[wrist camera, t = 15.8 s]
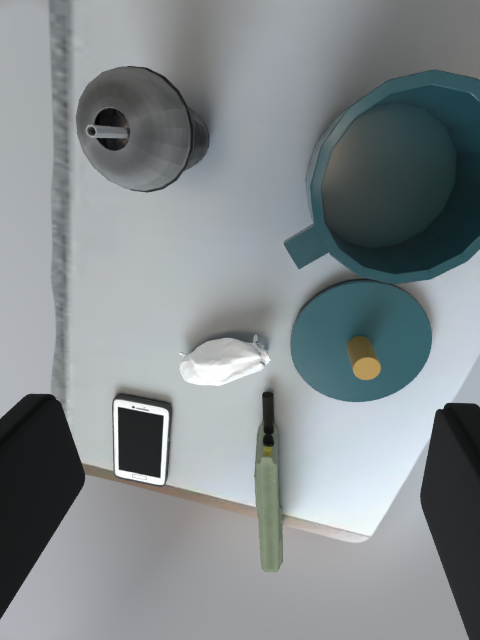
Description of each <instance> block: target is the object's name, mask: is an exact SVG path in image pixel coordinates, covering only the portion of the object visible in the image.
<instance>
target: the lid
mask: <svg viewBox="0 0 480 640" xmlns="http://www.w3.org/2000/svg"><path fill="white" fill-rule="evenodd" d="M431 343H432V332H431V327H430V323H429V320H428V318H427V315H426V314H425V312H424V310H423V309H422V307H421V306H420V305H419V304H418V303H417V301H416V300H415V299H414V298H413V297H411V296H410V295H409V294H408V293H406V292H405V291H403V290H402V289H400V288H398V287H395V286H393V285H390V284H387V283H384V282H379V281H371V280H359V281H351V282H346V283H342V284H339V285H336V286H333V287H331V288H329V289H327V290H325V291H323V292H322V293H320V294H319V295H317V296H316V297H315V298H313V299H312V300H311V301H310V302H309V303H308V304H307V305H306V306H305V307H304V309H303V310H302V311H301V313H300V314H299V316H298V318H297V320H296V322H295V324H294V327H293V330H292V335H291V355H292V359H293V362H294V365H295V367H296V369H297V371H298V373H299V374H300V376H301V377H302V378H303V379H304V381H305V382H307V383H308V384H309V385H310V386H311V387H312V388H314V389H315V390H316V391H318V392H320V393H321V394H323V395H326V396H328V397H331V398H334V399H337V400H342V401H349V402H365V401H372V400H377V399H381V398H383V397H386V396H389V395H391V394H393V393H395V392H397V391H399V390H401V389H402V388H404V387H405V386H406V385H408V384H409V383H410V382H411V381H412V380H413V379H414V378H415V377H416V376H417V375H418V374H419V372H420V371H421V370H422V368H423V367H424V365H425V363H426V361H427V359H428V356H429V353H430V349H431Z"/></svg>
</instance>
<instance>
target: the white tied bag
mask: <svg viewBox="0 0 480 640" xmlns="http://www.w3.org/2000/svg"><path fill="white" fill-rule="evenodd" d="M257 336H258V335H257V334H255V335H254V338H253V343H247V342H242V341H240V340H237V339H233V338H222V339H216V340H212V341H207V342H205V343H203V344H202V345H200V346H198V347H197V348H196V349H195V351H193V352H192V353H190V354H186V353H179V354H180V355H181V356H183V357H184V359H183V360H182V362H181V363H180V366H179V369H180V372H181V374H182V376H183V378H184V380H185V381H187V382H189V383H192V384H198V385H215V386H221V385H223V384H226V383H228V382H231V381H234V380H236V379H238V378H241V377H244V376H247V375H249V374H252V373H255V372H258V371H261V370H262V369H263V368H264V367H265V364H268V363H269V362H270V361H271V360H270V358H269V357H268V354H267V353H268V351H266V350H264V349H263V348H264V347H262V346H264V344H263V345H261V344H260V343H258V337H257Z"/></svg>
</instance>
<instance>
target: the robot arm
mask: <svg viewBox="0 0 480 640" xmlns="http://www.w3.org/2000/svg"><path fill="white" fill-rule="evenodd" d="M84 482H85V472H84V469H83V466H82V463H81V461H80V458H79V455H78V452H77V449H76V446H75V443H74V440H73V437H72V434H71V431H70V428H69V425H68V423H67V420H66V417H65V414H64V411H63V408H62V405H61V403H60V402H59V401H58V400H56V398H55V397H54V396H53V395H51V394H28V395H26V396H25V397H23V398H22V399H21V400H20V401H19V402H18V403H17V404H16V405H15V406H14V407H13V408H12V409H10V411H8V412H7V413H6V414H5V415H4V416H3V417H2V418H1V419H0V619H1V617H2V616H3V614H4V613H5V611H6V609H7V608H8V606H9V604H10V603H11V601H12V600H13V598H14V597H15V595H16V593H17V592H18V590H19V588H20V587H21V585H22V584H23V582H24V581H25V579H26V577H27V576H28V574H29V572H30V571H31V569H32V568H33V566H34V565H35V563H36V561H37V560H38V558H39V556H40V555H41V553H42V552H43V550H44V548H45V547H46V545H47V544H48V542H49V540H50V539H51V537H52V536H53V534H54V532H55V531H56V529H57V528H58V526H59V524H60V523H61V521H62V520H63V518H64V516H65V515H66V513H67V512H68V510H69V508H70V507H71V505H72V503H73V502H74V500H75V499H76V497H77V496H78V494H79V492H80V490H81V489H82V487H83V485H84ZM420 498H421V505H422V509H423V512H424V515H425V518H426V520H427V523H428V526H429V529H430V532H431V534H432V537H433V540H434V543H435V545H436V548H437V551H438V554H439V556H440V559H441V562H442V565H443V568H444V571H445V573H446V576H447V579H448V582H449V585H450V587H451V590H452V593H453V596H454V598H455V601H456V604H457V607H458V610H459V612H460V615H461V618H462V621H463V623H464V626H465V629H466V632H467V635H468V637H469V640H480V407H479V406H478V405H476V404H471V403H470V404H469V403H447V404H446V405H445V406H444V409H438V410H437V411H436V414H435V419H434V424H433V429H432V434H431V440H430V445H429V450H428V456H427V461H426V466H425V471H424V477H423V482H422V487H421V494H420Z"/></svg>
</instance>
